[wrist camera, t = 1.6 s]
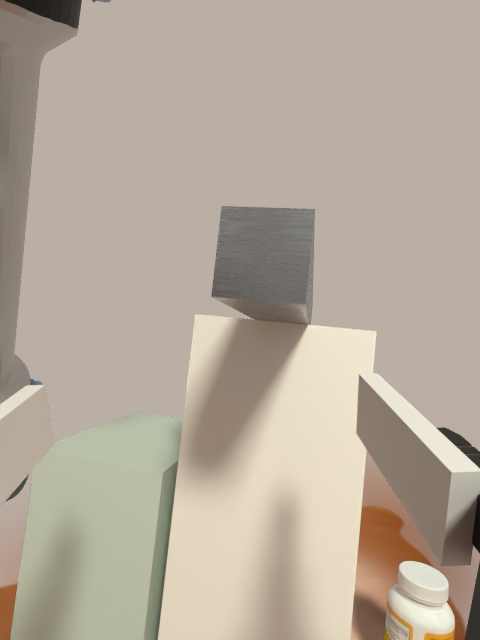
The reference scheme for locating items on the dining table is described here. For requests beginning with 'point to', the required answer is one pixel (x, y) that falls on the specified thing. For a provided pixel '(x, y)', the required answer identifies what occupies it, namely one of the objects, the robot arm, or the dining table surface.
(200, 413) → the two-step stand
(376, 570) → the dining table surface
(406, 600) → the supplement bottle
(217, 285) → the steel block
